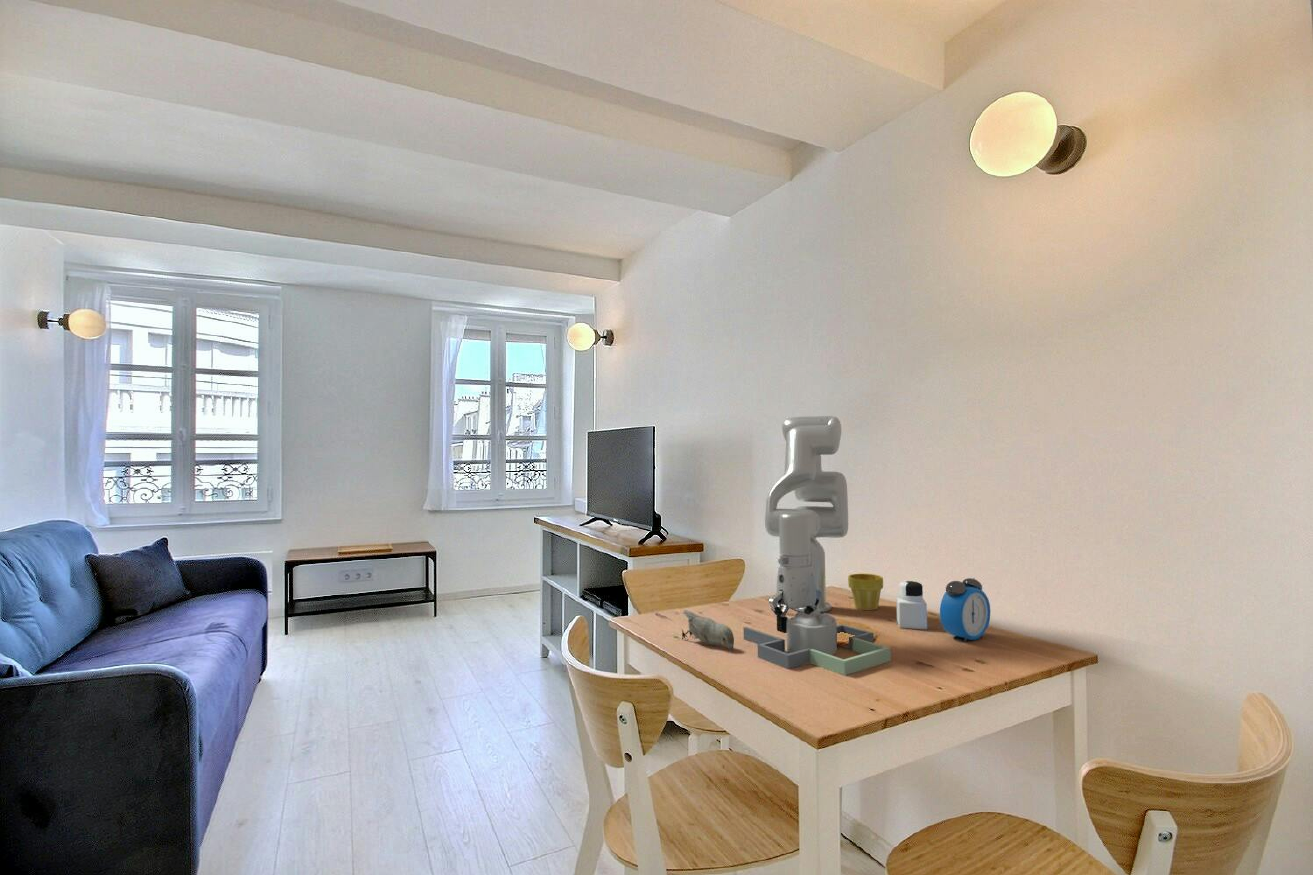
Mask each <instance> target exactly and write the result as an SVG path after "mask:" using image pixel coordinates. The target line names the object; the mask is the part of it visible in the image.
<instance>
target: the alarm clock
mask: <svg viewBox="0 0 1313 875" xmlns="http://www.w3.org/2000/svg"><path fill="white" fill-rule="evenodd" d="M939 617H940V618H939V619H940V623H941V626H942V628H943V629H944V630H945V632H946V633H947V634H949V635H952V636H955V637H959V638H962V639H964V641H963V642H964V643H966V642H967V640H970V641H976V640H978V639H980V638H982V639H983V635H984V634H985V633H986V631H987V629H988V627H989V625H990V621H991V604H990V600H989V598H988V596H987V595H986V592H985V591H983V585H982V583H981V582H980V581H979V580H978V579H975V577H973V578H972V577H971V578H969V577H967V578H965V579H963V580H962V581H959V580H952V581H950V582H948V583H947V584H946V586H945V593H944V594H943V596H942V598H941V601H940V607H939Z"/></svg>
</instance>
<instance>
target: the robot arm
mask: <svg viewBox="0 0 1313 875" xmlns="http://www.w3.org/2000/svg"><path fill="white" fill-rule="evenodd" d="M781 429H782V430H781V431H782V434H783V438H784V440H785V459H784V473H783V475H782V476H781V477H780V478H779V479H778V480H777V481H776V482H775V483H774V484H773V485H772V487H771V488H770V489H769V490H770V491H769V492H768V495H767V498H766V500H765V514H764V527H765V531H766V532H767V534H768V535H770V536H772V537H778V538H779V559H778V560H777V561H778V564H779V566H778V571H777V576H776V577H777V578H776V593H775V594H774V595H773V596H772V597H771V598H769V600H768V603H769V606H770V608H771V611H772V613H774V615H775V616H776V630H777V631H778V632H781V633H783V634H787V618H788V616H786V615H787V614H788V612H789V609H790V610H794V611H796V612H799V611H802V612H804V613H805V614H806V613H807V614H810V613H811V612H813V611H818V612H820V613H827V612H829V611H830V610H832V604H831V603H830V602H828V601H827V592H826V591H827V587H826V584H827V583H826V552H825V549H824V547H823V546H822V545H821V543H820V542H819V541H818V538H831V539H833V538H837V539H838V538H840V539H841V538H844V537H845V536H847V534H848V531H849V504H848V502H849V499H848V484H847V479H846V477H845V475H844V474H843V473H841V472H839V471H823V470H822V456H824V455H825V456H826V455H827V456H828V455H829V456H830V455H835V454H836V453H837V452H838V450H839V448H840V443H841V436H842V424H841V421H840V420H839V418H838V417H837V416H833V415H826V416H825V415H821V416H820V415H819V416H810V415H809V416H793V417H789V418H787V419H786V418H785V420H783V421H782V426H781ZM821 455H822V456H821ZM791 492H794V495H795V498H796V499H797V500H798V501H800V502H806V503H830V504H831V506H817V505H816V506H815V505H814V506H811V505H804V506H798V507H795V508H778V503H779V502H780V500H781V499H782V498H783V497H785V495H787V494H789V493H791Z"/></svg>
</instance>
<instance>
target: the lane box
mask: <svg viewBox="0 0 1313 875" xmlns="http://www.w3.org/2000/svg"><path fill="white" fill-rule="evenodd" d="M790 618H791V617H790ZM790 618H789V617H787V620H788V619H790ZM836 625H837V633H840V632H844V633H848V634H851V635H855V636H853V637H849V645H837V647H840V648H842V649H846V650H849V651H852V652H856V653H859V654H858V655H855V656H851V657H847V658H840V657H838V656H834V655H833V654H832V655H829V654H826V653H823V652H820V651H817V650H814V649H811V648H808V649H804V650H800V651H796V652H792V653H789V652H788V651H787V650H786V640H785V639H783V638H781V637H778V636H775V635H772V634H769V633H765V632H763V631H760V630H757V629H755V628H751V627H748V626H744V627H743V639H744V640H745V641H749V642H752V643H754V644H757V658H759V659H761V660H764V661H767V662H769V663H771V664H775V665H777V666H779V667H781V668H784V669H787V670H790V669H793V668H796V667H797V668H798V667H801V666H804V665H807V664H812V665H815V666H817V667H819V668H823V669H826V670H829V671H831V672H833V673H837V674H839V675H842V676H848V675H850V674H853V673H857V672H860V671H864V670H867V669H869V668H873V667H876V666H879V665H883V664H885V663H889V662H891V661H892V659H891V656H892V655H891V653H892V652H891V647H888V646H885V645H881V644H878V643H875V641H874V639H875V637H874V636H875V635H874V632H872V631H868V630H865V629H861V628H858V627H853V626H852V625H851V626H850V625H846V624H843V623H840V624H836Z"/></svg>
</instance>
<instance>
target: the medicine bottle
mask: <svg viewBox="0 0 1313 875" xmlns="http://www.w3.org/2000/svg"><path fill="white" fill-rule="evenodd" d="M898 590H899V596H896V599H895V600H896V622H897V624H898V627H899V628H900V629H912V630H927V629H928V611H927V610H928V609H927V608H928V607H927V603H926V601H925V599H924V595H923V592H924V591H923V584H922V583H920V582H918V581H913V580H903V581H901V582H899V584H898Z"/></svg>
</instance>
